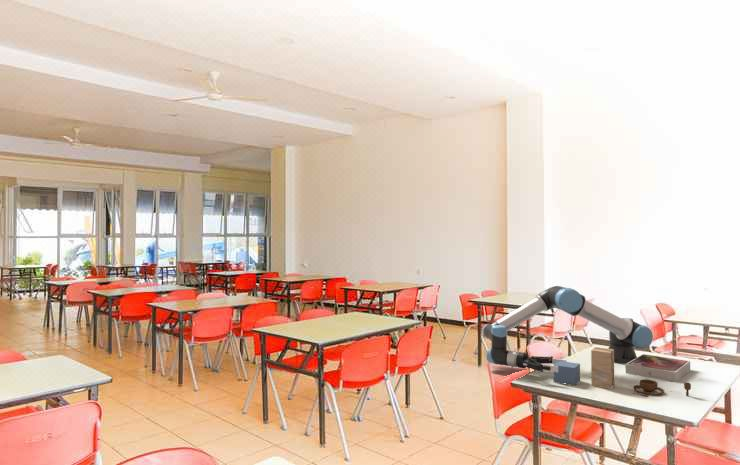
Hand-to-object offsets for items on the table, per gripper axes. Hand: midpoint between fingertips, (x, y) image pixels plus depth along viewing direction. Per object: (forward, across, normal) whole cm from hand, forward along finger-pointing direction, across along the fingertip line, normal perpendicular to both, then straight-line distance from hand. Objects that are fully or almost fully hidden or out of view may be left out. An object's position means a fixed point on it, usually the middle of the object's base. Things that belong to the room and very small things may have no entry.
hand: (562, 366), depth 235 cm
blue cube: (+2, 0, -7) cm, 7 cm away
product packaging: (+34, -44, -8) cm, 56 cm away
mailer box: (+17, -4, -7) cm, 19 cm away
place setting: (+39, -4, -8) cm, 40 cm away
